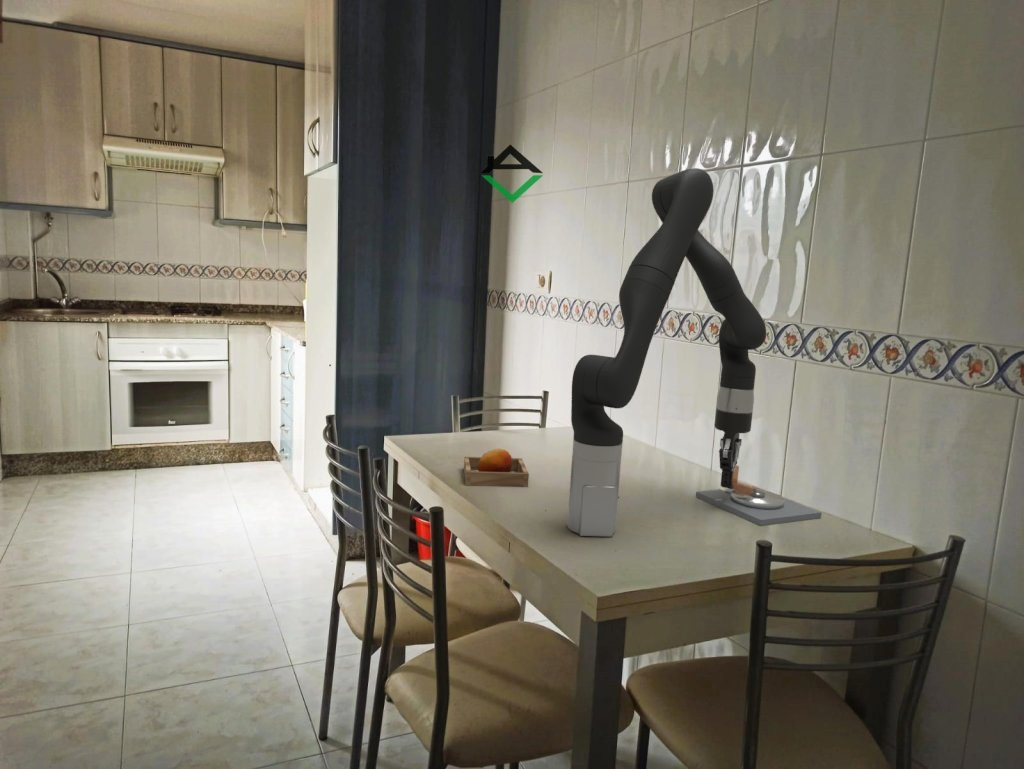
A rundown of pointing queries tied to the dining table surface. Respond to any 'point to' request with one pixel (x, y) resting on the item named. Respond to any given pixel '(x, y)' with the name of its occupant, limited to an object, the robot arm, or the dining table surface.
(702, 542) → the dining table surface
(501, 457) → the fruit
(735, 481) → the silver and copper crank
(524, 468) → the wooden tray
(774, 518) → the plate
